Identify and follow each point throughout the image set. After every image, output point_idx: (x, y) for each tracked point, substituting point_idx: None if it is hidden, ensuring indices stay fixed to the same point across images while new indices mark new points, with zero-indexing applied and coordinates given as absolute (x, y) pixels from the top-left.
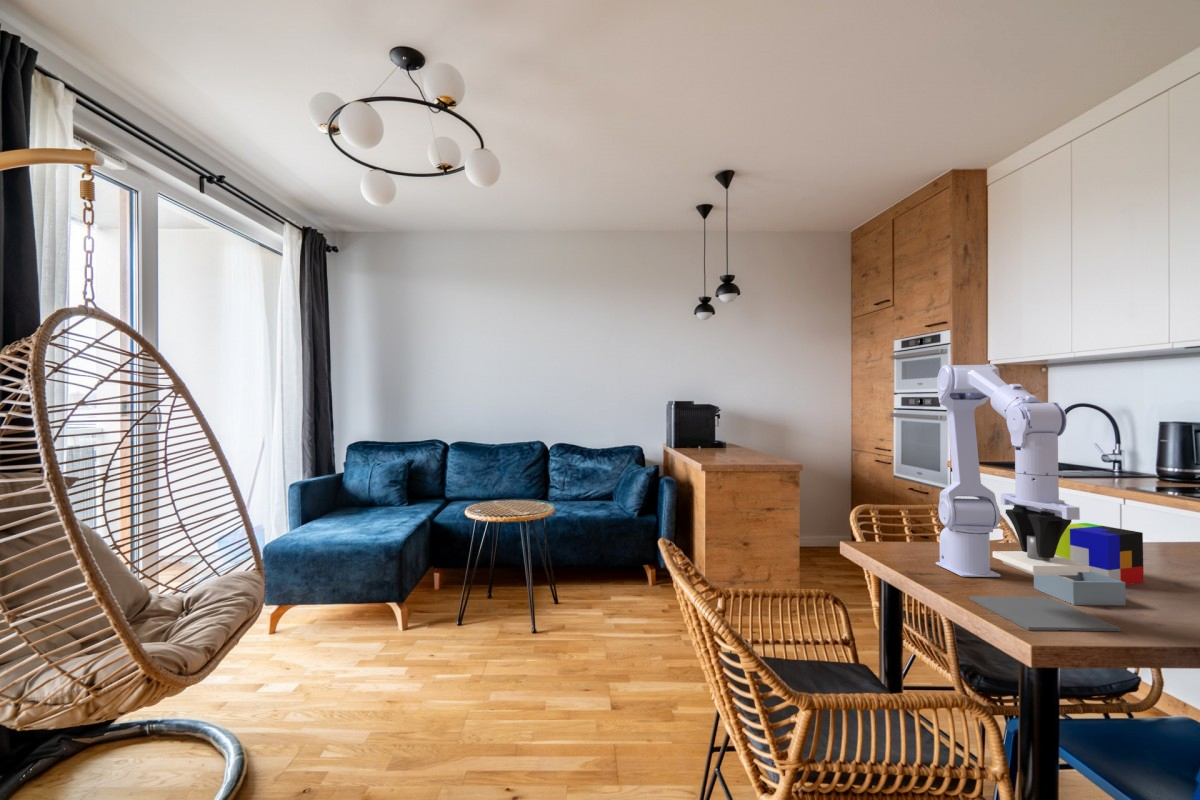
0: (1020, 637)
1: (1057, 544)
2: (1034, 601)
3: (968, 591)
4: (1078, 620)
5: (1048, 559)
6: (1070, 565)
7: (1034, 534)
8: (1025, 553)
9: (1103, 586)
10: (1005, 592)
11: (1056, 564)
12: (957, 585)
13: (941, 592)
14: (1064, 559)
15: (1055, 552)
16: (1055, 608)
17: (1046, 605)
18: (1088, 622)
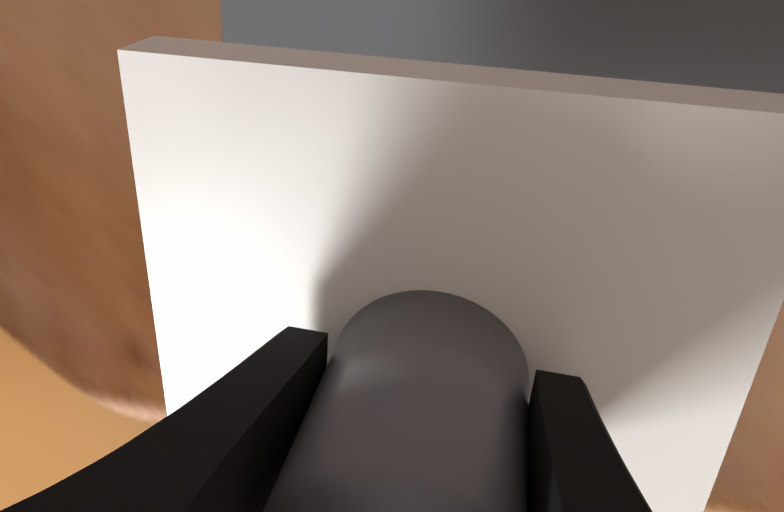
0: (731, 502)
1: (637, 495)
2: (311, 48)
3: (107, 242)
4: (665, 77)
5: (523, 364)
6: (754, 321)
7: (232, 500)
8: (246, 339)
9: None
10: (91, 33)
11: (675, 414)
12: (6, 221)
13: (143, 379)
14: (518, 155)
15: (594, 408)
16: (446, 25)
17: (385, 32)
18: (711, 41)
